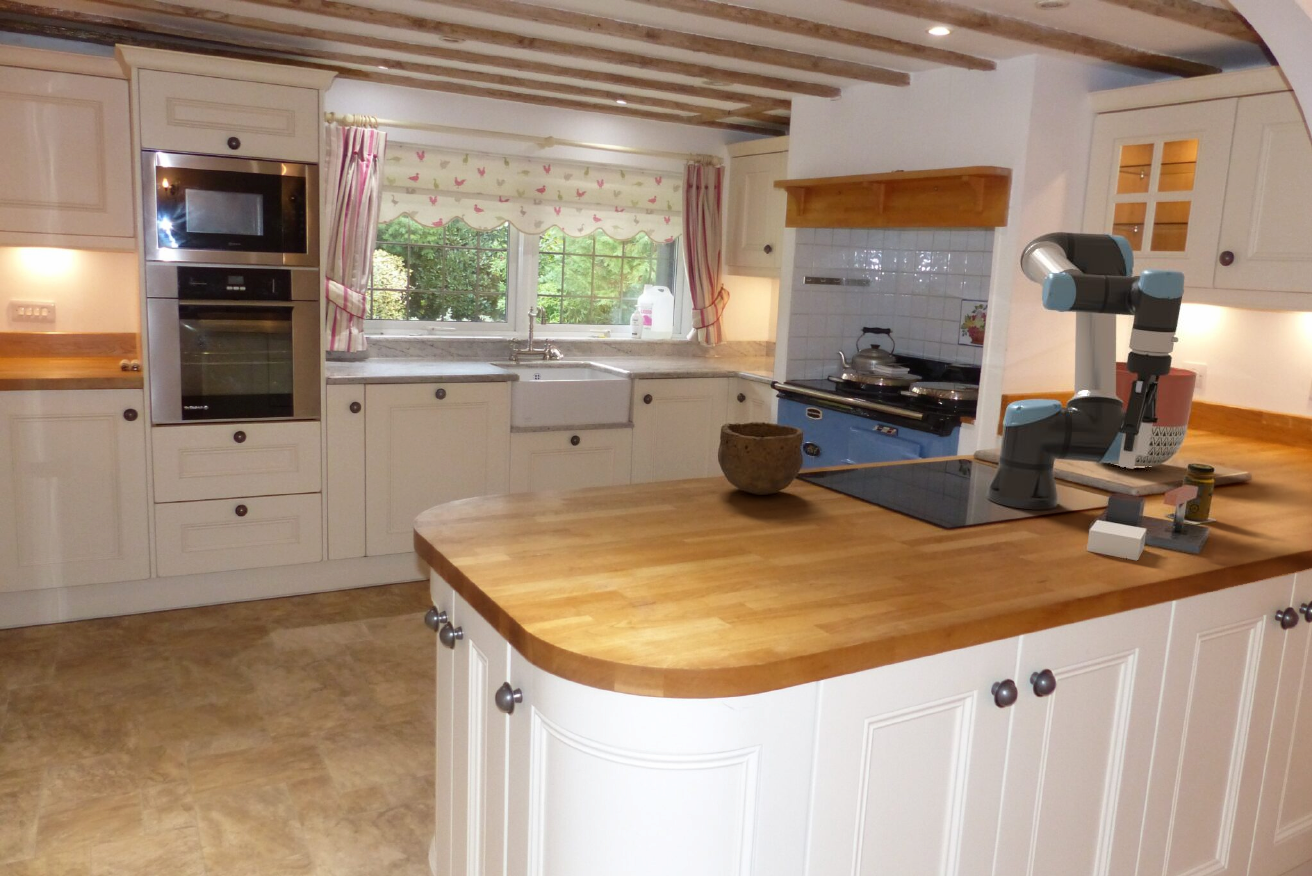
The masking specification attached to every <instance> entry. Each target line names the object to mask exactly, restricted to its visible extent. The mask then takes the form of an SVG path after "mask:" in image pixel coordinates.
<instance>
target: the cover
mask: <svg viewBox="0 0 1312 876" xmlns="http://www.w3.org/2000/svg"><path fill="white" fill-rule="evenodd" d="M1146 531H1147V529H1145V528H1139V527H1134V526H1128V525H1122V524H1117V523H1111V522H1105V521H1100V520H1097V521H1096V522H1095V524H1094V525H1093V526H1092V527H1091V529H1090V530H1088V539H1087V546H1086V551H1087V552H1092V553H1095V554H1096V553H1097V554H1100V555H1105V556H1107V555H1108V556H1111V557H1112V556H1113V557H1117V558H1121V559H1126V558H1127V560H1133V561H1137V560H1139V559H1140V557H1141V555H1142V554H1143V552H1144V550H1145V549H1144V548H1145V537H1146Z"/></svg>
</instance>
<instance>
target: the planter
mask: <svg viewBox="0 0 1312 876" xmlns="http://www.w3.org/2000/svg"><path fill="white" fill-rule="evenodd" d="M1126 366H1127V361H1116V396H1117V397H1118V398H1119V399H1121V400H1122V401H1123V411H1124V412H1125V411H1126V410H1127V406H1128V402H1129V398H1130V394H1131V388H1132V382H1133V380H1134V381H1137V377H1138V374H1137V373H1132V372H1129V371H1128V370H1127V369H1126ZM1197 375H1198V374H1197V373H1196V372H1195V371H1193V370H1188V369H1186V368H1180V367H1174V366H1171V367H1170V372H1169V374H1168V375H1164V376H1160V378H1159V381H1158V391H1157V404H1156V417H1155V418H1158V421H1157V423H1152V424H1153V425H1152V431H1151V438H1150V444H1149V450H1148V455H1147V456H1144V455H1138V454H1136V460H1135V466H1145V467H1146V466H1147V467H1149V466H1155V467H1157V465H1158V466H1160V465H1162V464H1164V463H1166V462H1167V461H1169V460H1170V459H1171V458H1173V457H1174V456H1175V455H1176V454H1177V453H1178V452H1179V450H1180V449H1181V447H1182V445H1183V443H1184V442H1185V441H1184V440H1185V439H1186V434H1187V431H1188V426H1189V422H1190V421H1189V419H1190V415H1191V409H1192V403H1193V397H1194V392H1195V387H1196V381H1197V380H1196V379H1197ZM1150 423H1151V422H1150ZM1118 463H1119V461H1118V462H1115V463H1112V464H1118Z"/></svg>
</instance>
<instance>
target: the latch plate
mask: <svg viewBox="0 0 1312 876" xmlns="http://www.w3.org/2000/svg"><path fill="white" fill-rule="evenodd" d="M1145 504H1146V497H1143V496H1142V497H1141V496H1137V495H1130V494H1125V493H1121V492H1120V493H1119V492H1113V493H1112V494H1111V495H1110V496H1109V497H1108V500H1107V508H1105V510H1103V511H1102V512H1101V513H1100V514H1099V515H1098V516H1097V517H1096V518H1095V519H1093V521H1092V522H1091V523H1089V530H1090V529H1091V527H1092V526H1093V525H1094V524H1095V522H1096V521H1097V520H1100V521H1105V522H1111V523H1117V524H1122V525H1128V526H1134V527H1139V528H1145V529H1147V531H1146V537H1145V544H1146V545H1147V546H1151V547H1157V548H1163V549H1165V550H1166V549H1167V550H1170V551H1176V550H1178V551H1177V552H1182V551H1184V552H1183V553H1188V554H1192V553H1193V555H1197V556H1198V555H1199V554H1200V551H1202V548H1203V546H1204V544H1205V542H1206V540H1207V539H1208V537H1209V532H1210V527H1207V526H1201V525H1198V524H1192V523H1188V522H1183V528H1182V531H1175V530H1172V527H1173V520H1169V519H1163V518H1158V517H1151V516H1146V515H1144V509H1145ZM1089 530H1088V531H1089ZM1145 544H1144V545H1145Z"/></svg>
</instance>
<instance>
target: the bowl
mask: <svg viewBox="0 0 1312 876" xmlns="http://www.w3.org/2000/svg"><path fill="white" fill-rule="evenodd" d="M719 437H720V438H719V439H720V441H719V446H718V450H717V451H718V452H717V461H718V464H719V466H720V469H721V471H722V473H723V475H724V476H725V479H726V480H727V482H729V484H731V485H733V487H735V488H737V489H739V490H740V491H743V492H746V493H749V494H754V495H759V496H761V495H762V496H763V495H765V496H766V495H771V494H775V493H778V492H781V491H783V490H785V489H786V488H788V487H789V486H790V485H791V483H793V481H794V480H795V479H796V477H797V476H798V475H799V472H800V471H801V469H802V467H803V463H804V457H803V454H802V450H801V448H802V446H803V442H804V441H803V440H804V431H803V429H801V428H800V427H799V428H798V427H795V426H791V425H782V424H781V425H779V424H777V423H771V422H770V423H769V422H765V421H762V422H759V421H755V422H754V421H751V422H747V423H745V422H744V423H739V422H737V423H724V424H723V425H722V426H721V427H720V436H719Z"/></svg>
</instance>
